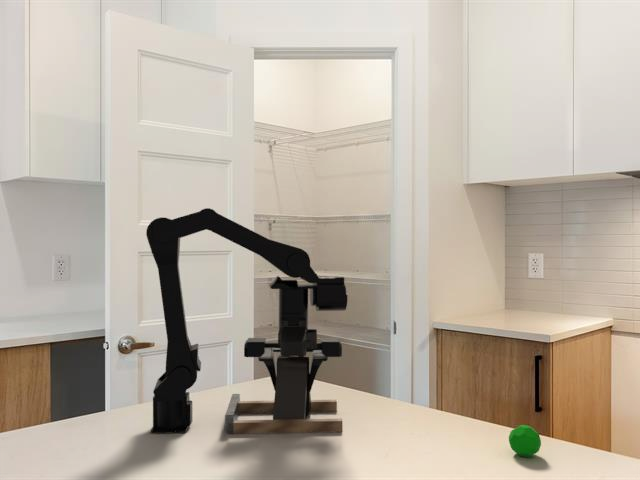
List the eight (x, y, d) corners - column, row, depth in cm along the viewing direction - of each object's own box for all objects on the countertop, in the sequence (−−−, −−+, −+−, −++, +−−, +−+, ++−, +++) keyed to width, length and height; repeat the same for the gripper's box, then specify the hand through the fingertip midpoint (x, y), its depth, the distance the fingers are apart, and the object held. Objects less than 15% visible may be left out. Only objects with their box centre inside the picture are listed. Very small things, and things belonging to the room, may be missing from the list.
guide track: (228, 433, 106) (227, 423, 106) (235, 410, 120) (235, 401, 120) (342, 431, 108) (342, 420, 108) (336, 409, 122) (336, 399, 122)
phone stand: (282, 410, 119) (283, 351, 119) (311, 411, 118) (312, 352, 118) (272, 424, 110) (272, 361, 110) (303, 426, 109) (304, 362, 109)
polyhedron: (547, 457, 95) (547, 428, 95) (527, 463, 93) (527, 433, 93) (522, 447, 100) (522, 419, 100) (502, 453, 97) (502, 424, 97)
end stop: (225, 434, 106) (225, 414, 106) (232, 410, 120) (232, 393, 120) (233, 433, 107) (233, 414, 107) (239, 410, 121) (239, 393, 120)
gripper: (242, 317, 105) (241, 403, 105) (344, 317, 106) (344, 402, 106) (246, 309, 116) (245, 387, 117) (339, 309, 118) (338, 386, 118)
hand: (292, 391), depth 114 cm, fingers closed on phone stand, 6 cm apart
